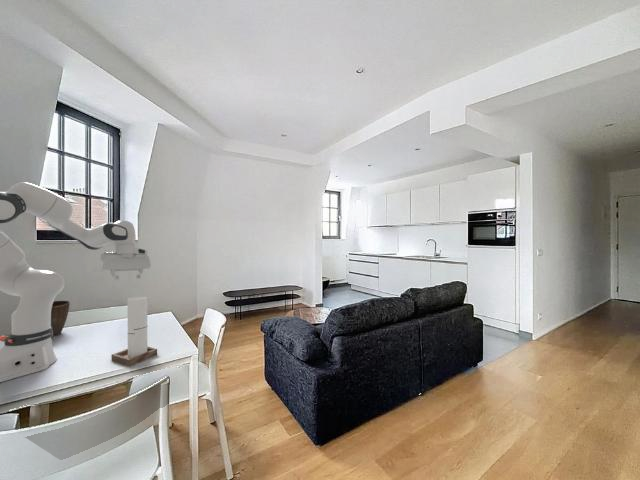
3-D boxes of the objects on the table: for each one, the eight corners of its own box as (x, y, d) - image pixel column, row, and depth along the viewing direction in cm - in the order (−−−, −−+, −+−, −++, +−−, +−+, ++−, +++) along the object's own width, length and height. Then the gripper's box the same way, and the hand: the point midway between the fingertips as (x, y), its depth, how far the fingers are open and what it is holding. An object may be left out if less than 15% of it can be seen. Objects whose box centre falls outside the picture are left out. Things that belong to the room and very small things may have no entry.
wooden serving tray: (129, 366, 113) (129, 360, 112) (111, 360, 117) (111, 354, 117) (157, 354, 124) (157, 349, 123) (139, 349, 128) (139, 344, 128)
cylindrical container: (146, 357, 118) (145, 299, 118) (126, 360, 116) (125, 301, 115) (148, 350, 125) (148, 295, 124) (129, 353, 122) (129, 297, 121)
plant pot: (41, 341, 135) (41, 309, 135) (23, 337, 140) (23, 306, 140) (76, 331, 149) (76, 302, 149) (59, 328, 154) (58, 299, 154)
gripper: (102, 250, 129) (103, 279, 126) (150, 250, 145) (152, 276, 142) (98, 254, 133) (99, 282, 130) (146, 254, 149) (148, 279, 145)
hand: (127, 279), depth 136 cm, fingers open, 8 cm apart
